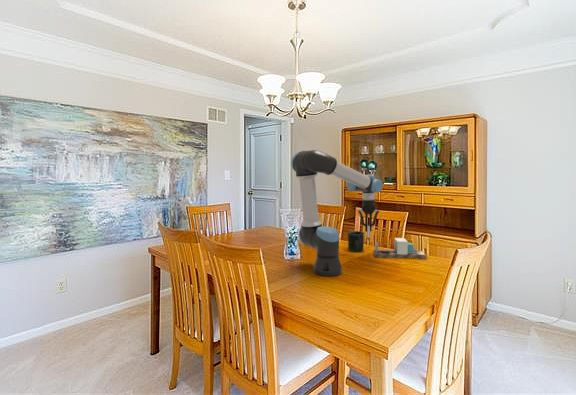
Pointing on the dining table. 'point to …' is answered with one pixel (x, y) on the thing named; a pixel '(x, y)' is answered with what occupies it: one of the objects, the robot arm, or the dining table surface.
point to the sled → (392, 250)
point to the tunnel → (401, 246)
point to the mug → (355, 241)
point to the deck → (399, 255)
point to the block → (410, 247)
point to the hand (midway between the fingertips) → (368, 236)
